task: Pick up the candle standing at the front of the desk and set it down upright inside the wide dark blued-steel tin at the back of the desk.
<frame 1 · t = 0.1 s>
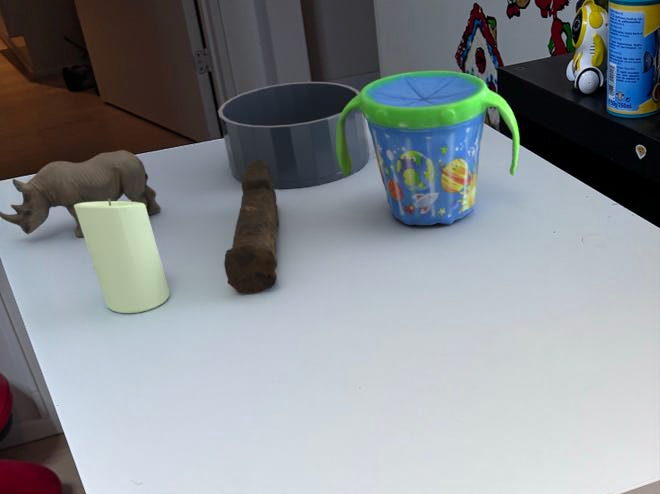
tin: (300, 162, 102), on the table
snack cup: (433, 215, 91), on the table
rhino figurine: (88, 231, 93), on the table
candle: (139, 302, 81), on the table
brown rough bar: (257, 250, 87), on the table
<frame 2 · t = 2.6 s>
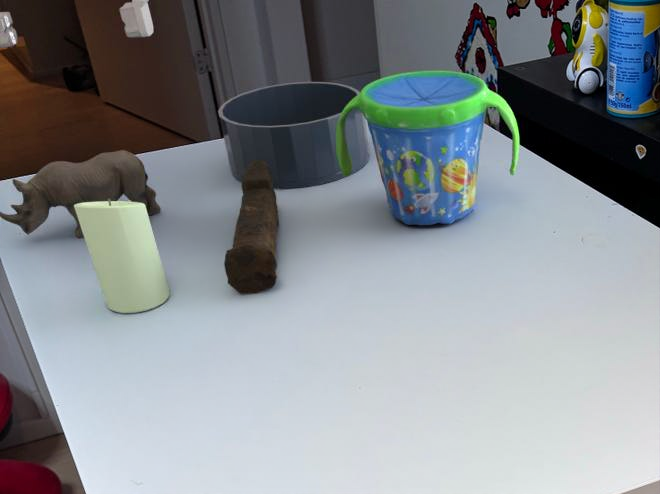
hand: (72, 40, 69), 18 cm above the table, tool pointing down, fingers open, 8 cm apart
nothing on the table moved.
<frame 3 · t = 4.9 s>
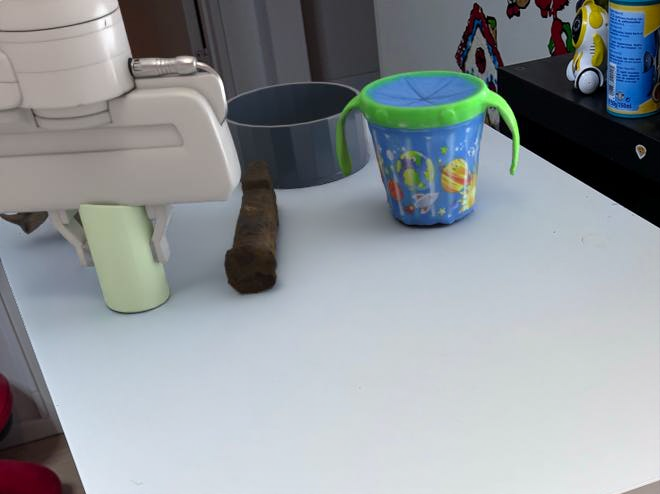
hand: (126, 261, 79), 3 cm above the table, tool pointing down, fingers closed on candle, 4 cm apart
candle: (139, 301, 81), on the table, touching gripper
everything else where it was.
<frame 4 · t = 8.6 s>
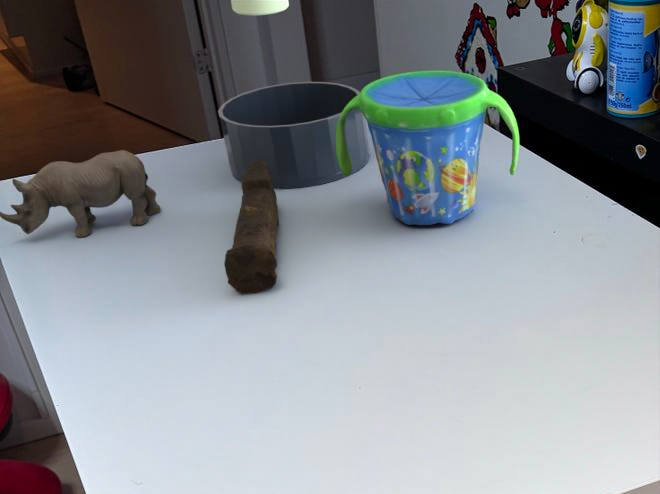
candle: (261, 11, 91), point 14 cm above the table, touching gripper
everything else where it was.
when the fingers open (4 cm above the table, at t = 12.2 s): candle stays where it is, resting on tin.
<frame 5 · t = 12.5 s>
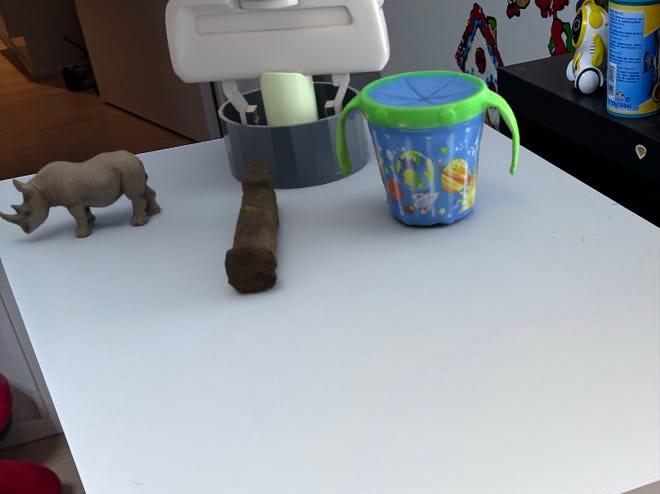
hand: (293, 125, 100), 3 cm above the table, tool pointing down, fingers open, 7 cm apart
candle: (299, 159, 102), resting on tin
everything else where it was.
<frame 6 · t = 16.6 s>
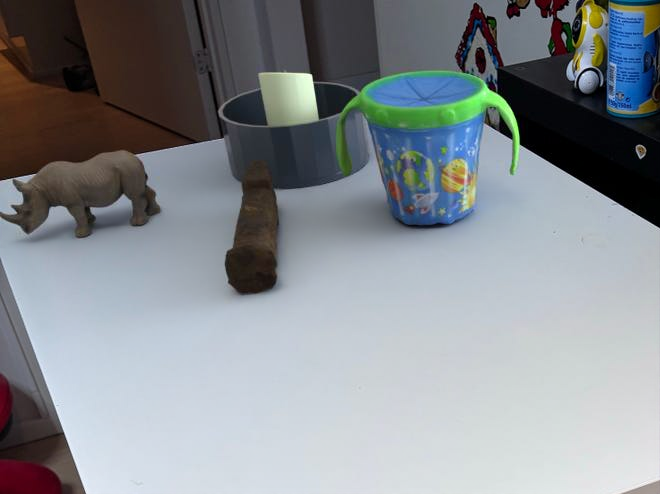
nothing on the table moved.
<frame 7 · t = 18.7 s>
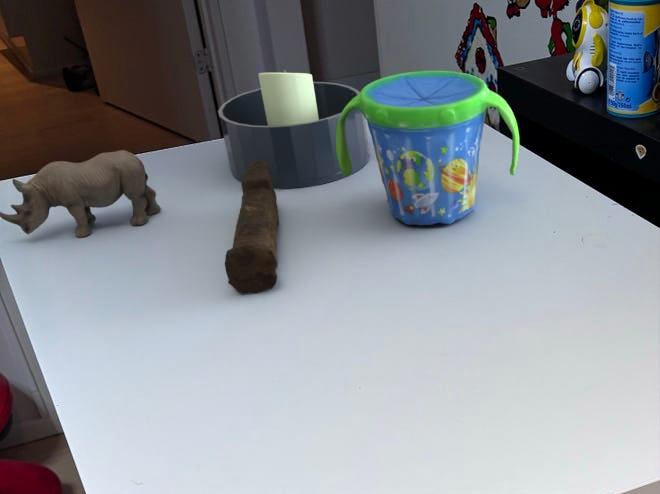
nothing on the table moved.
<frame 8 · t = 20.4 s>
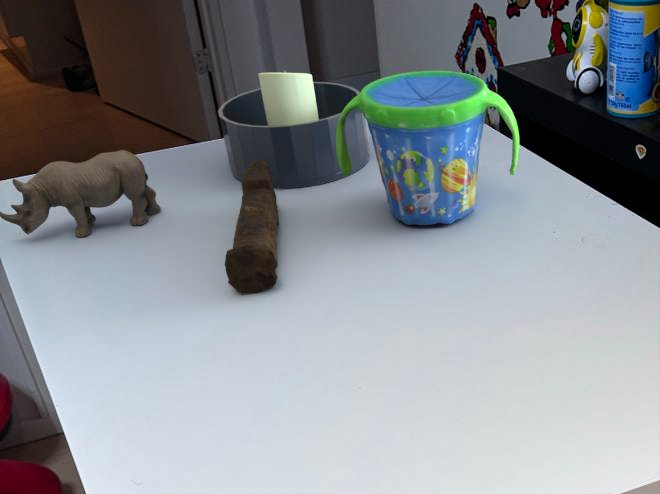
nothing on the table moved.
at the end: candle inside the target area in the tin (0.1 cm from its centre), point 0.4 cm above the tin's base; candle tilted 0°; the gripper is holding nothing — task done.
